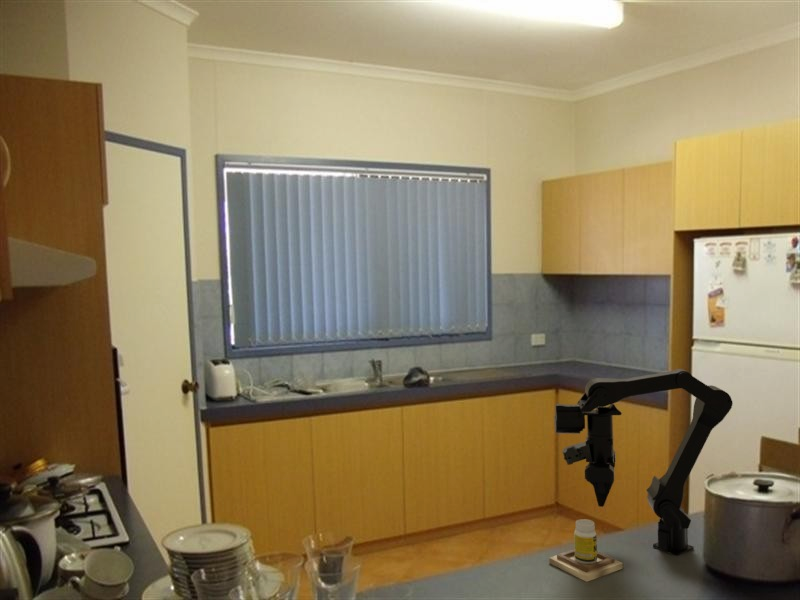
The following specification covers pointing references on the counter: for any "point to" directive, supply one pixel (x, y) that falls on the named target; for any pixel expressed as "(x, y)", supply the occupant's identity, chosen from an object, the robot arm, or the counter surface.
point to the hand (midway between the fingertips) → (601, 499)
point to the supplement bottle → (585, 542)
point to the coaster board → (586, 565)
